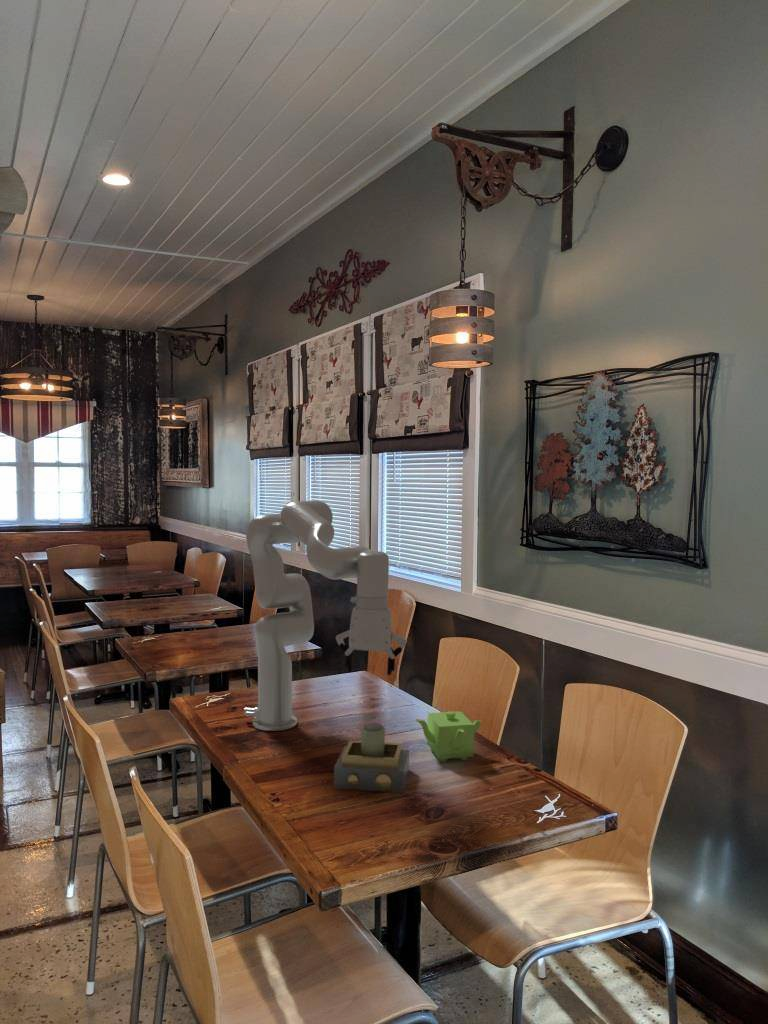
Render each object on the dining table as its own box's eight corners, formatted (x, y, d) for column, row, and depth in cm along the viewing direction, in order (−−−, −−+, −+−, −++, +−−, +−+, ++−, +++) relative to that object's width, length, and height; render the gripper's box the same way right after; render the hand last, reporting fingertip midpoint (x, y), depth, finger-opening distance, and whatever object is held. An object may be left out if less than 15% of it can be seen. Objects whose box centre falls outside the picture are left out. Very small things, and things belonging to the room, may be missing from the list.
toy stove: (333, 790, 171) (333, 760, 171) (344, 765, 185) (344, 738, 185) (402, 795, 169) (403, 764, 169) (409, 770, 183) (409, 741, 183)
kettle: (462, 771, 183) (463, 726, 182) (411, 759, 190) (411, 716, 189) (487, 751, 196) (487, 709, 195) (438, 741, 203) (438, 700, 202)
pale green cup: (359, 760, 175) (359, 729, 175) (364, 749, 183) (364, 719, 182) (382, 762, 175) (383, 730, 174) (386, 750, 182) (387, 720, 182)
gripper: (333, 603, 179) (331, 674, 180) (405, 607, 176) (403, 679, 178) (340, 597, 186) (338, 665, 188) (409, 601, 184) (407, 670, 185)
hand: (370, 672), depth 183 cm, fingers open, 9 cm apart
